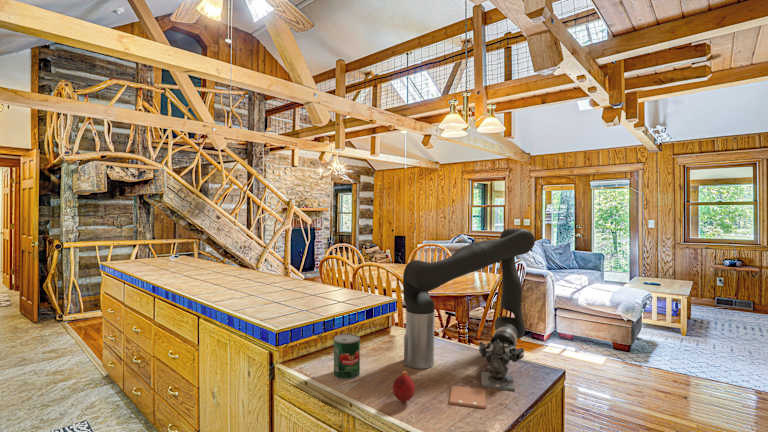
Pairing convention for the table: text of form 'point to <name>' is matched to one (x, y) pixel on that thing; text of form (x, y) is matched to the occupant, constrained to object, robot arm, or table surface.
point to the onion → (404, 387)
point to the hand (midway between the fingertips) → (496, 360)
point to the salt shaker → (497, 364)
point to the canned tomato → (346, 356)
